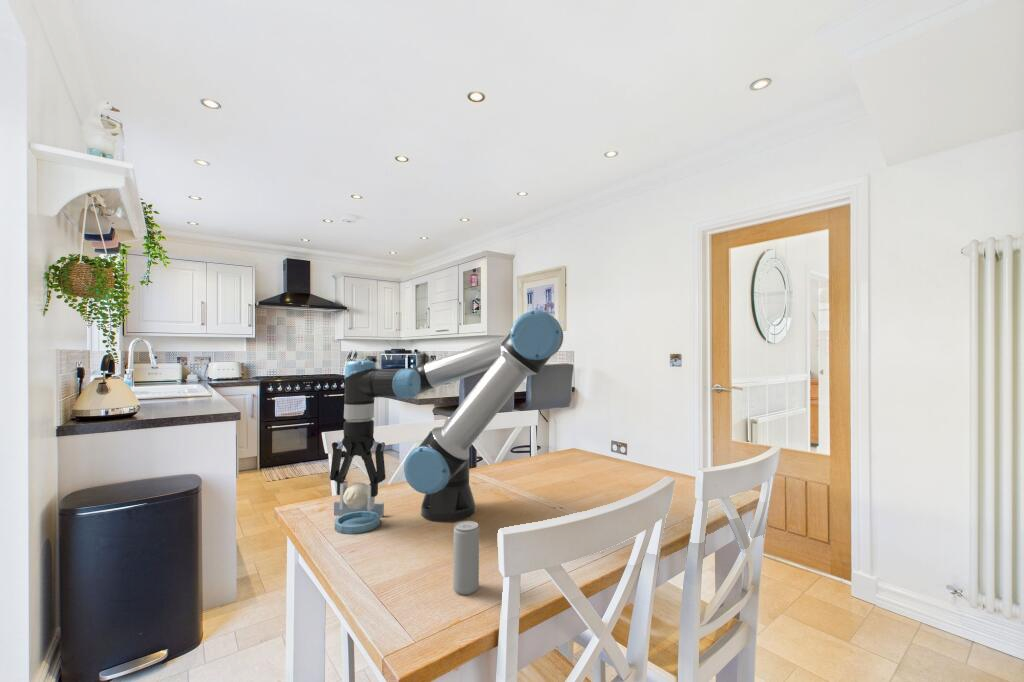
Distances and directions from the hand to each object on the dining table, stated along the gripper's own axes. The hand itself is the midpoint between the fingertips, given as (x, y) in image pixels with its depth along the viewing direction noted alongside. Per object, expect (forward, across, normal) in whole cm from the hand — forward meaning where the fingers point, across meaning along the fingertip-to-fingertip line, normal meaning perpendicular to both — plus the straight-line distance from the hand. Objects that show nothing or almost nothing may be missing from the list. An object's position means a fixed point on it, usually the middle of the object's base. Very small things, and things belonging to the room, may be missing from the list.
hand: (357, 508), depth 116 cm
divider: (+5, +3, -7) cm, 9 cm away
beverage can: (+5, -35, +28) cm, 45 cm away
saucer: (+5, 0, 0) cm, 5 cm away
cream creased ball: (+1, 0, 0) cm, 1 cm away
